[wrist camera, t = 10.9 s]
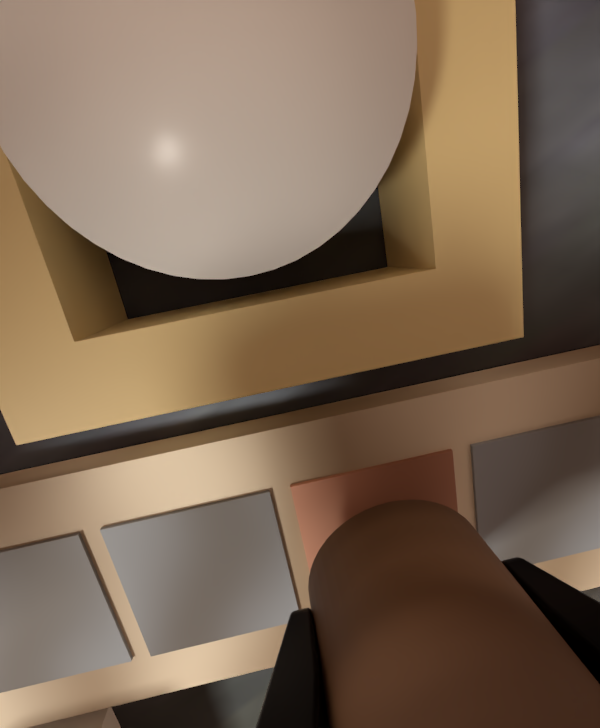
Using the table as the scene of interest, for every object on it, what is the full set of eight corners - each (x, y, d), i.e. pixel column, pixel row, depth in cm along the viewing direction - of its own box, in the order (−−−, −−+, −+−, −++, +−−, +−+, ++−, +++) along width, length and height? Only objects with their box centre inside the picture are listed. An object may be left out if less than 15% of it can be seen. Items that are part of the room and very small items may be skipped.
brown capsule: (322, 663, 9) (400, 1151, 4) (294, 521, 8) (356, 967, 3) (485, 624, 9) (744, 1040, 4) (482, 482, 8) (832, 831, 3)
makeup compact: (11, 702, 11) (-11, 740, 10) (-106, 497, 9) (-145, 522, 8) (598, 559, 12) (626, 583, 11) (607, 343, 10) (640, 351, 9)
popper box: (83, 395, 9) (16, 445, 6) (-102, -101, 6) (-329, -328, 4) (454, 317, 9) (524, 336, 7) (417, -178, 7) (504, -426, 4)
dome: (133, 294, 8) (56, 315, 5) (41, -3, 6) (-145, -227, 3) (371, 247, 8) (435, 239, 5) (332, -50, 6) (389, -298, 4)
